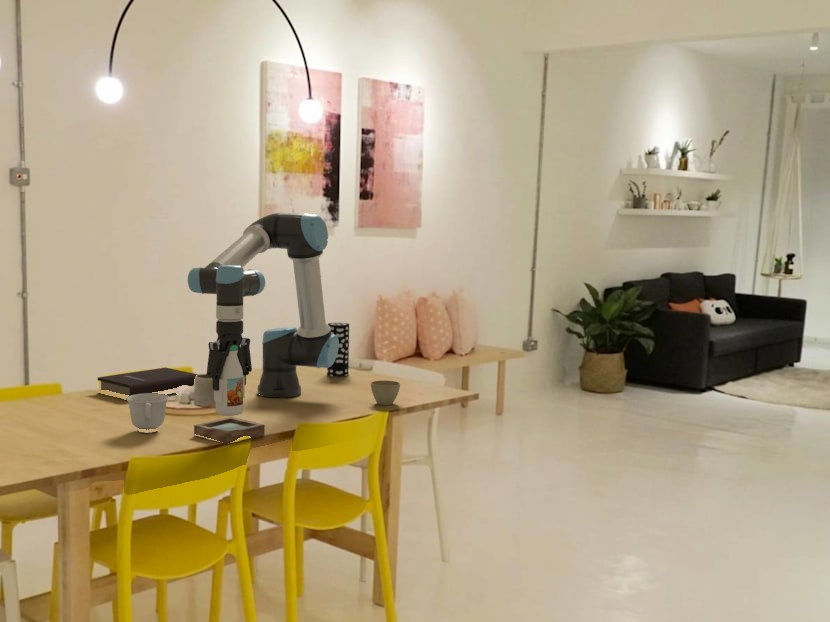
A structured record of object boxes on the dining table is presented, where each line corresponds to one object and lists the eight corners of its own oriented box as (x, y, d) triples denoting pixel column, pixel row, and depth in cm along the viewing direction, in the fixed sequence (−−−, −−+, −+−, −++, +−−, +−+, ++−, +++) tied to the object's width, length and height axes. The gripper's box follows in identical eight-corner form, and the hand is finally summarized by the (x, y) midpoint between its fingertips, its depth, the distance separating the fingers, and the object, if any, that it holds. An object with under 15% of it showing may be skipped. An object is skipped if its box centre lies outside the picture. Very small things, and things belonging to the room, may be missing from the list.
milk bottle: (216, 416, 263) (216, 346, 260) (214, 410, 270) (214, 342, 268) (244, 416, 265) (244, 346, 262) (241, 410, 272) (242, 342, 270)
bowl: (396, 407, 310) (396, 386, 309) (367, 405, 312) (367, 384, 311) (402, 401, 320) (403, 381, 319) (374, 399, 321) (374, 379, 321)
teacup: (125, 439, 261) (125, 404, 260) (126, 427, 275) (126, 393, 274) (170, 437, 264) (170, 403, 263) (168, 425, 278) (168, 392, 277)
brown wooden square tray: (194, 436, 267) (194, 425, 266) (231, 427, 278) (231, 416, 277) (227, 444, 258) (227, 433, 258) (264, 435, 270) (264, 424, 269)
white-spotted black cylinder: (352, 374, 366) (353, 323, 364) (339, 377, 359) (340, 326, 357) (335, 372, 371) (336, 322, 368) (322, 375, 364) (323, 324, 361)
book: (131, 403, 308) (131, 385, 308) (97, 394, 320) (97, 377, 320) (199, 391, 330) (199, 374, 330) (165, 383, 342) (165, 367, 342)
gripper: (210, 324, 254) (210, 406, 256) (265, 318, 270) (264, 395, 273) (192, 321, 258) (192, 402, 261) (247, 315, 275) (247, 392, 277)
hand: (229, 399), depth 267 cm, fingers closed on milk bottle, 8 cm apart
